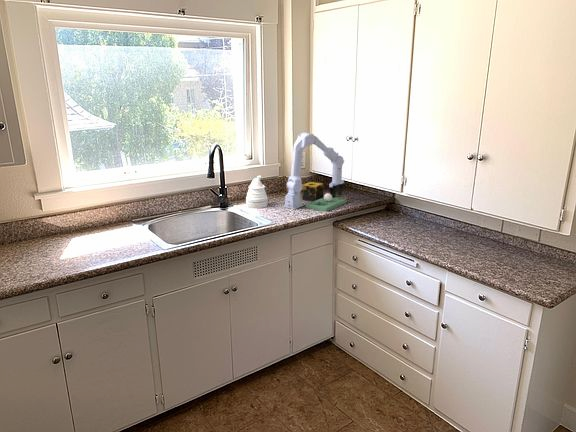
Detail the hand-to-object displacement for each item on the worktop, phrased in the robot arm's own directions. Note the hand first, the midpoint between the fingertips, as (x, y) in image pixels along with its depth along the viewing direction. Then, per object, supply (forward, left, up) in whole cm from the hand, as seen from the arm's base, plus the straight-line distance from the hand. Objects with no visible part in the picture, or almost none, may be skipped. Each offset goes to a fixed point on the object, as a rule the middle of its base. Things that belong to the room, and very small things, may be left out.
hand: (336, 196), depth 266 cm
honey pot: (-36, +34, -3) cm, 50 cm away
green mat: (-11, 0, -3) cm, 12 cm away
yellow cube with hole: (-5, +14, -3) cm, 15 cm away
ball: (-10, 0, +2) cm, 10 cm away
